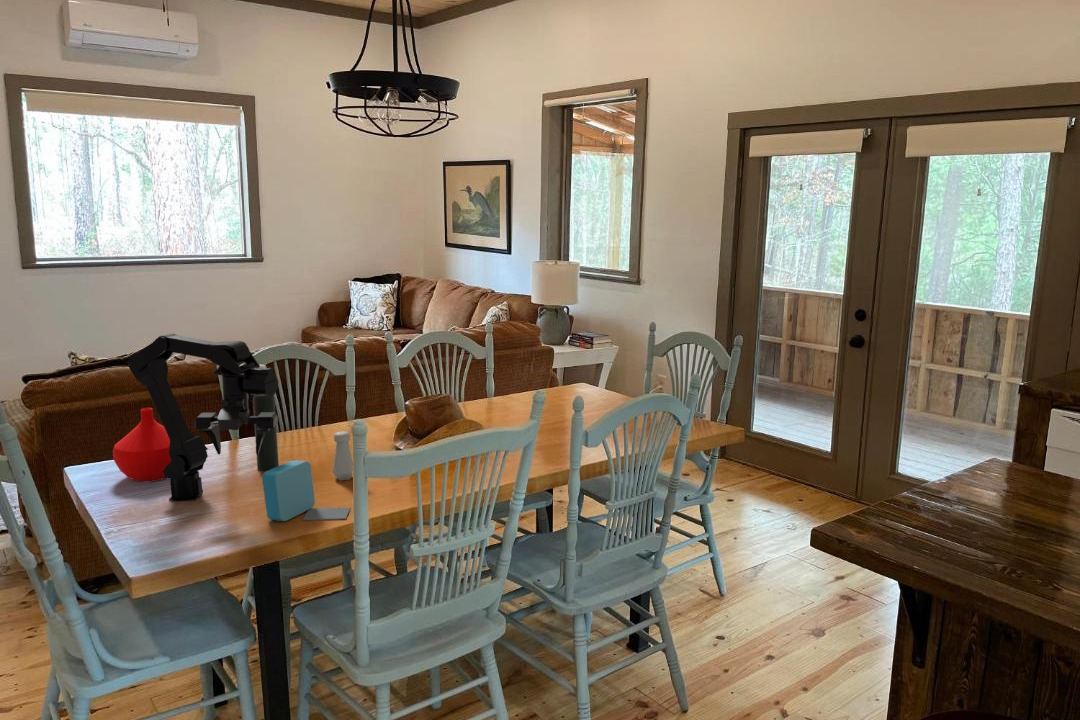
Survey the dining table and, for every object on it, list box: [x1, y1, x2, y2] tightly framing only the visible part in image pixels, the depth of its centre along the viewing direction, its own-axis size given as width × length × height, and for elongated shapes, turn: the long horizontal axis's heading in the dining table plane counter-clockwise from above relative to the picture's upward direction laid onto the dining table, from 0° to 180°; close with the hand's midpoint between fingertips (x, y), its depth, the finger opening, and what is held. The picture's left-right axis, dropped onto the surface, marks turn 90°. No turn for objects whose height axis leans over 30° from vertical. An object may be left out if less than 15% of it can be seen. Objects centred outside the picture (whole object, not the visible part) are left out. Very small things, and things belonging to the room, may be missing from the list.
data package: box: [261, 459, 316, 522], centre depth 195 cm, size 12×4×12 cm, turn 155°
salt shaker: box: [332, 430, 354, 481], centre depth 221 cm, size 6×6×13 cm
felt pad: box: [303, 507, 351, 521], centre depth 196 cm, size 10×7×1 cm
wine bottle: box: [252, 364, 280, 472], centre depth 228 cm, size 6×6×30 cm
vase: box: [112, 407, 171, 482], centre depth 222 cm, size 18×18×19 cm
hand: (238, 453), depth 202 cm, fingers open, 9 cm apart
